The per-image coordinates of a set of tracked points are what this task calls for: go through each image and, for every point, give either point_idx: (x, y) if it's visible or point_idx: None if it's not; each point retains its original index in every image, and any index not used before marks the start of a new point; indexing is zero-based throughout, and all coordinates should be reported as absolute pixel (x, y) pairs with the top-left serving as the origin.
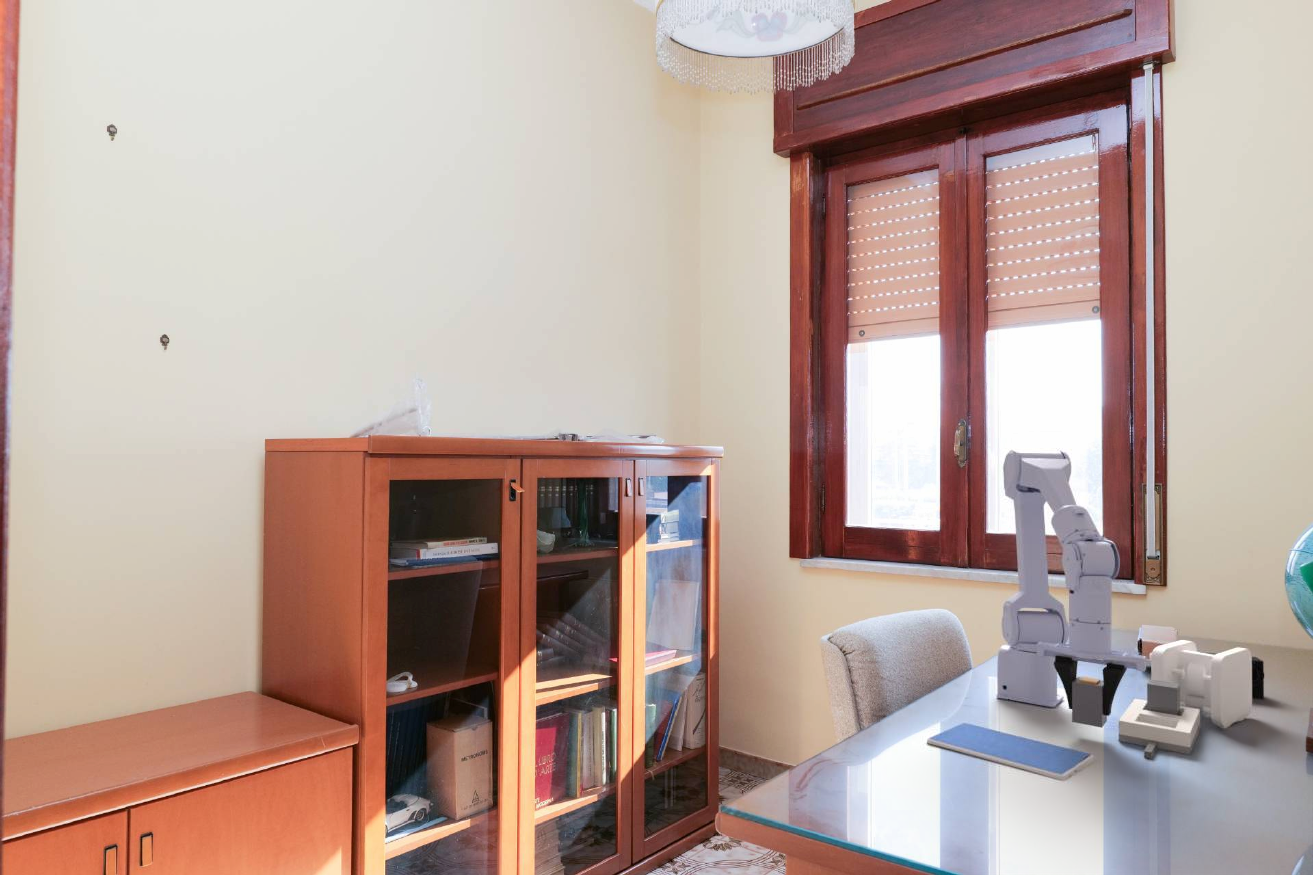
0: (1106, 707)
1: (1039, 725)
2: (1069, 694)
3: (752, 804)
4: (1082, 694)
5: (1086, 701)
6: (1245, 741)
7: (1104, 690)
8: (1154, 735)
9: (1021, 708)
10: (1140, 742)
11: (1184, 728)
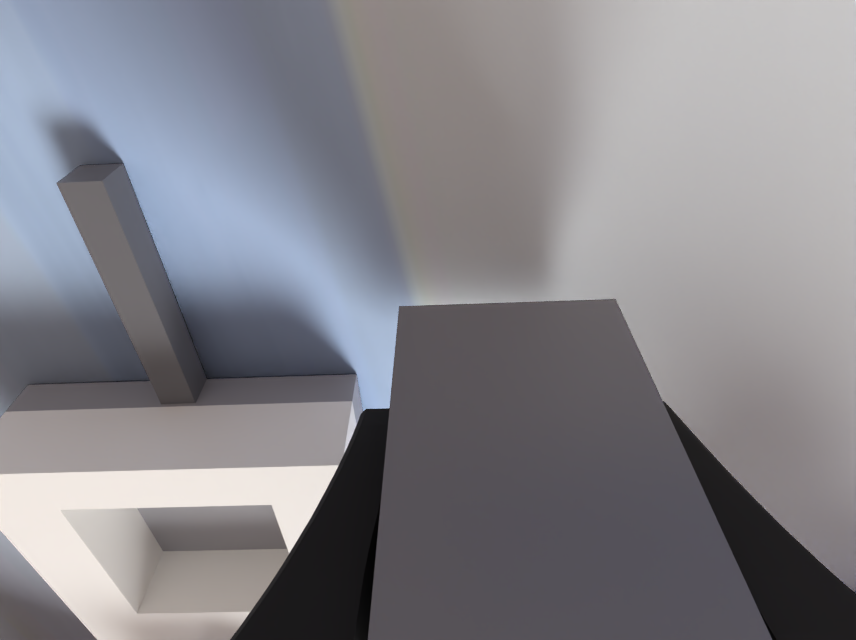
0: (363, 453)
1: (777, 363)
2: (720, 494)
3: None
4: (592, 500)
5: (536, 445)
6: (38, 616)
7: (353, 605)
8: (161, 428)
9: (838, 539)
10: (247, 386)
11: (34, 528)
